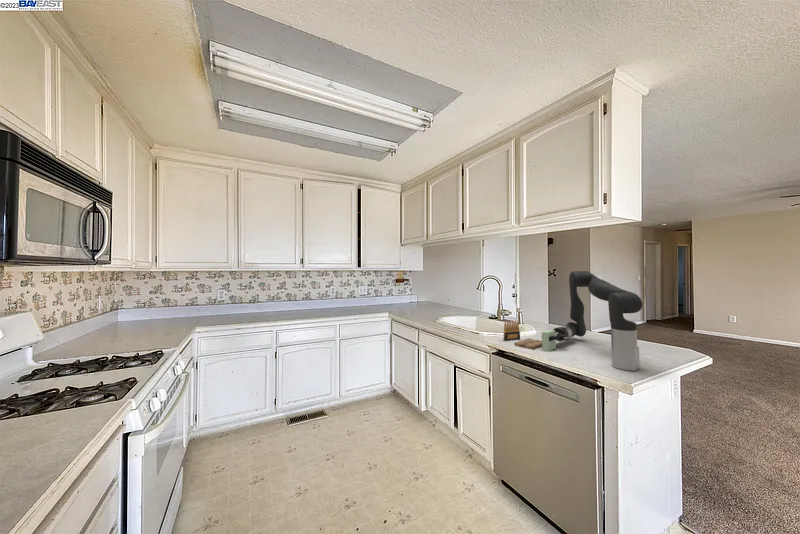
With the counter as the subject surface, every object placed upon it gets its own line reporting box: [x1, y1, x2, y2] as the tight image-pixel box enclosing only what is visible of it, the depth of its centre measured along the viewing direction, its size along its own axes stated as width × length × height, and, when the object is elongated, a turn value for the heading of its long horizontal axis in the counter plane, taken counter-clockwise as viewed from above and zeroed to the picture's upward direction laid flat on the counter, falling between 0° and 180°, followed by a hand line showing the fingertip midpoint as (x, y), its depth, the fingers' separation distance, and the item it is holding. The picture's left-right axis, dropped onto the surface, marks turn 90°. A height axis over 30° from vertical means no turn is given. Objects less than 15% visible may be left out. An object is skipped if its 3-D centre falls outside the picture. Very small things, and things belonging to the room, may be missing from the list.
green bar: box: [541, 329, 557, 352], centre depth 161 cm, size 3×8×10 cm, turn 125°
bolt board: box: [513, 338, 542, 351], centre depth 171 cm, size 12×15×2 cm
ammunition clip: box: [503, 320, 521, 342], centre depth 183 cm, size 11×2×12 cm, turn 105°
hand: (546, 338), depth 159 cm, fingers closed on green bar, 3 cm apart
